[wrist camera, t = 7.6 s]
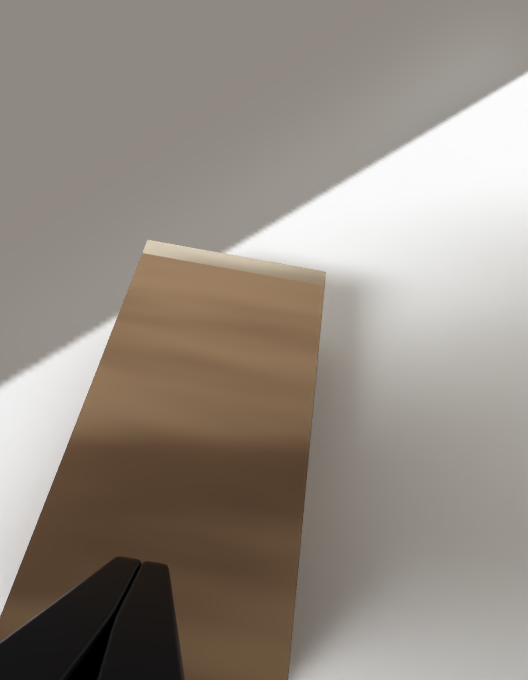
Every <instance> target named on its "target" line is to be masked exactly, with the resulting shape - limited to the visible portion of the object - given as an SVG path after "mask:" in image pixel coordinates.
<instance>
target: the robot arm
mask: <svg viewBox="0 0 528 680" xmlns="http://www.w3.org/2000/svg"><path fill="white" fill-rule="evenodd" d="M0 680H185V676H184V669H183V662H182V655H181V648H180V641H179V634H178V627H177V620H176V614H175V607H174V600H173V593H172V586H171V579H170V572H169V567H168V566H167V565H166V564H163V563H157V562H151V561H145V562H143V563H141V561H140V560H139V559H134V558H128V557H122V556H118V557H115V558H113V559H112V560H111V561H109V562H108V563H107V564H105V565H104V566H102V567H101V568H100V569H98V570H97V571H96V572H94V573H93V574H92V575H90V576H89V577H88V578H86V579H85V580H84V581H82V582H81V583H80V584H78V585H77V586H75V587H74V588H73V589H71V590H70V591H69V592H67V593H66V594H65V595H63V596H62V597H61V598H59V599H58V600H57V601H55V602H54V603H53V604H51V605H50V606H49V607H47V608H46V609H44V610H43V611H42V612H40V613H39V614H38V615H36V616H35V617H34V618H32V619H31V620H30V621H28V622H27V623H26V624H24V625H23V626H22V627H20V628H19V629H18V630H16V631H15V632H13V633H12V634H11V635H9V636H8V637H7V638H5V639H4V640H3V641H1V642H0Z"/></svg>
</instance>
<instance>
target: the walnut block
mask: <svg viewBox="0 0 528 680" xmlns="http://www.w3.org/2000/svg"><path fill="white" fill-rule="evenodd" d="M325 275H326V272H323V271H318V270H312V269H306V268H301V267H295V266H290V265H284V264H279V263H273V262H268V261H262V260H257V259H251V258H245V257H240V256H234V255H229V254H223V253H218V252H212V251H207V250H201V249H195V248H190V247H184V246H179V245H173V244H168V243H162V242H156V241H151V240H148V241H147V243H146V246H145V248H144V251H143V253H142V256H141V258H140V261H139V263H138V266H137V269H136V271H135V274H134V276H133V279H132V281H131V284H130V286H129V289H128V292H127V294H126V297H125V299H124V302H123V305H122V307H121V310H120V312H119V315H118V317H117V320H116V322H115V325H114V327H113V330H112V333H111V335H110V338H109V340H108V343H107V345H106V348H105V350H104V353H103V356H102V358H101V361H100V363H99V366H98V368H97V371H96V373H95V376H94V379H93V381H92V384H91V386H90V389H89V391H88V394H87V396H86V399H85V402H84V404H83V407H82V409H81V412H80V414H79V417H78V420H77V422H76V425H75V427H74V430H73V432H72V435H71V437H70V440H69V443H68V445H67V448H66V450H65V453H64V455H63V458H62V460H61V463H60V466H59V468H58V471H57V473H56V476H55V478H54V481H53V483H52V486H51V489H50V491H49V494H48V496H47V499H46V501H45V504H44V506H43V509H42V512H41V514H40V517H39V519H38V522H37V524H36V527H35V530H34V532H33V535H32V537H31V540H30V542H29V545H28V547H27V550H26V553H25V555H24V558H23V560H22V563H21V565H20V568H19V570H18V573H17V576H16V578H15V581H14V583H13V586H12V588H11V591H10V593H9V596H8V599H7V601H6V604H5V606H4V609H3V611H2V614H1V616H0V642H1V641H3V640H4V639H5V638H7V637H8V636H9V635H11V634H12V633H13V632H15V631H16V630H18V629H19V628H20V627H22V626H23V625H24V624H26V623H27V622H28V621H30V620H31V619H32V618H34V617H35V616H36V615H38V614H39V613H40V612H42V611H43V610H44V609H46V608H47V607H49V606H50V605H51V604H53V603H54V602H55V601H57V600H58V599H59V598H61V597H62V596H63V595H65V594H66V593H67V592H69V591H70V590H71V589H73V588H74V587H75V586H77V585H78V584H80V583H81V582H82V581H84V580H85V579H86V578H88V577H89V576H90V575H92V574H93V573H94V572H96V571H97V570H98V569H100V568H101V567H102V566H104V565H105V564H107V563H108V562H109V561H111V560H112V559H113V558H115V557H118V556H122V557H128V558H134V559H139V560H140V561H141V563H143V562H145V561H151V562H157V563H163V564H166V565H167V566H168V567H169V572H170V579H171V586H172V593H173V600H174V607H175V614H176V620H177V627H178V634H179V641H180V648H181V655H182V662H183V669H184V676H185V680H288V672H289V661H290V650H291V640H292V629H293V618H294V607H295V597H296V586H297V575H298V565H299V554H300V543H301V532H302V522H303V511H304V500H305V489H306V479H307V468H308V457H309V447H310V436H311V425H312V414H313V404H314V393H315V382H316V371H317V361H318V350H319V339H320V329H321V318H322V307H323V296H324V286H325Z"/></svg>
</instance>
